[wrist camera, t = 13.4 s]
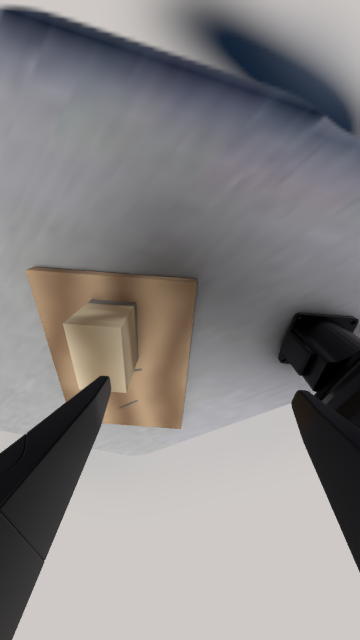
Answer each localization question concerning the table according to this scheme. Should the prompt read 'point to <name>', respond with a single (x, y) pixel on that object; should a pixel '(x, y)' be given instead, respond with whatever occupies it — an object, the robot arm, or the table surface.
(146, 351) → the light brown wooden board
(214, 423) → the table surface
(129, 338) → the block
